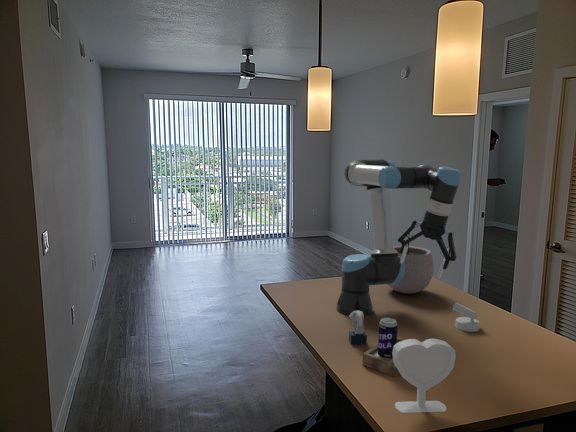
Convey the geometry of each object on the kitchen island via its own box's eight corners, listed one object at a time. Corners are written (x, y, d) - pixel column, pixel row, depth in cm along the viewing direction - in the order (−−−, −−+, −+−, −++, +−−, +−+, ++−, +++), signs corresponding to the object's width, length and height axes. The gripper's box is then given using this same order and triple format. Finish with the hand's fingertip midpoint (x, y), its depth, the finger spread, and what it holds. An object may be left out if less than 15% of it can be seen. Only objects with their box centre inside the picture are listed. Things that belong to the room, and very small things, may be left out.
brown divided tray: (362, 364, 138) (362, 353, 138) (390, 345, 153) (391, 335, 152) (394, 376, 131) (395, 364, 131) (421, 355, 146) (421, 344, 145)
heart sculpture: (394, 413, 113) (398, 346, 110) (388, 402, 117) (391, 338, 115) (453, 411, 114) (458, 345, 111) (445, 400, 119) (449, 337, 116)
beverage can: (375, 352, 141) (376, 317, 139) (392, 352, 141) (394, 316, 140) (380, 361, 135) (382, 323, 134) (398, 360, 136) (400, 323, 134)
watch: (362, 336, 160) (364, 307, 158) (367, 346, 152) (368, 315, 150) (347, 336, 159) (348, 307, 158) (351, 346, 152) (352, 315, 150)
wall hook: (451, 298, 174) (478, 300, 172) (449, 321, 176) (476, 324, 174) (455, 306, 166) (483, 308, 164) (453, 330, 167) (481, 332, 165)
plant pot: (379, 283, 227) (382, 226, 223) (427, 286, 224) (430, 227, 220) (382, 298, 204) (385, 234, 200) (436, 301, 200) (440, 236, 196)
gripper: (399, 203, 151) (383, 259, 157) (473, 226, 140) (453, 285, 146) (405, 200, 158) (390, 254, 164) (477, 222, 146) (457, 279, 152)
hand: (420, 269), depth 155 cm, fingers open, 13 cm apart
